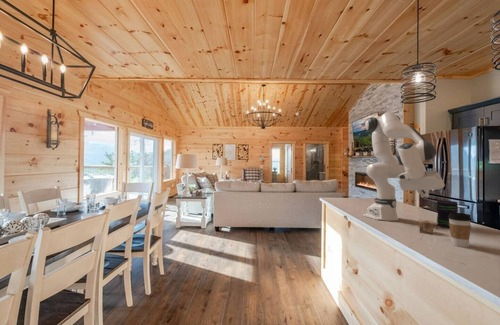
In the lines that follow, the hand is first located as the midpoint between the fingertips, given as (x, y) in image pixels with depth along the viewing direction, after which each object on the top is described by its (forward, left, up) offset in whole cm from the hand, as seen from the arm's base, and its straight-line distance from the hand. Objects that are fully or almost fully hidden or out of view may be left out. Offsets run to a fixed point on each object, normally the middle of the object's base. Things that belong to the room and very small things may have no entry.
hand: (425, 197), depth 126 cm
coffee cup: (+15, -1, -21) cm, 26 cm away
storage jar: (-5, +30, -21) cm, 37 cm away
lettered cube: (-4, +8, -21) cm, 23 cm away
